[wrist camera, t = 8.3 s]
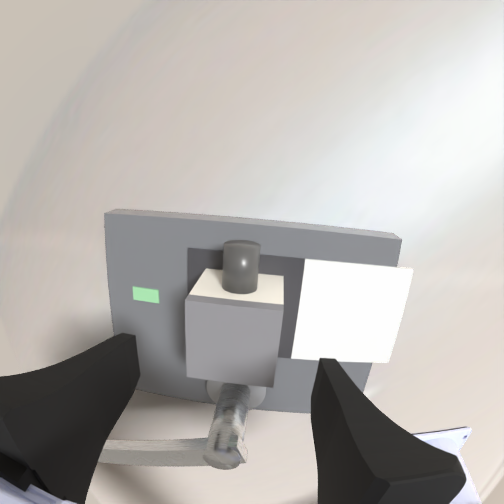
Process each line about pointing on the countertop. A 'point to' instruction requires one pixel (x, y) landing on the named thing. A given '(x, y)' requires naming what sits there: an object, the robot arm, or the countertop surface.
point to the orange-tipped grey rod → (193, 450)
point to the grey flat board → (271, 263)
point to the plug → (235, 320)
